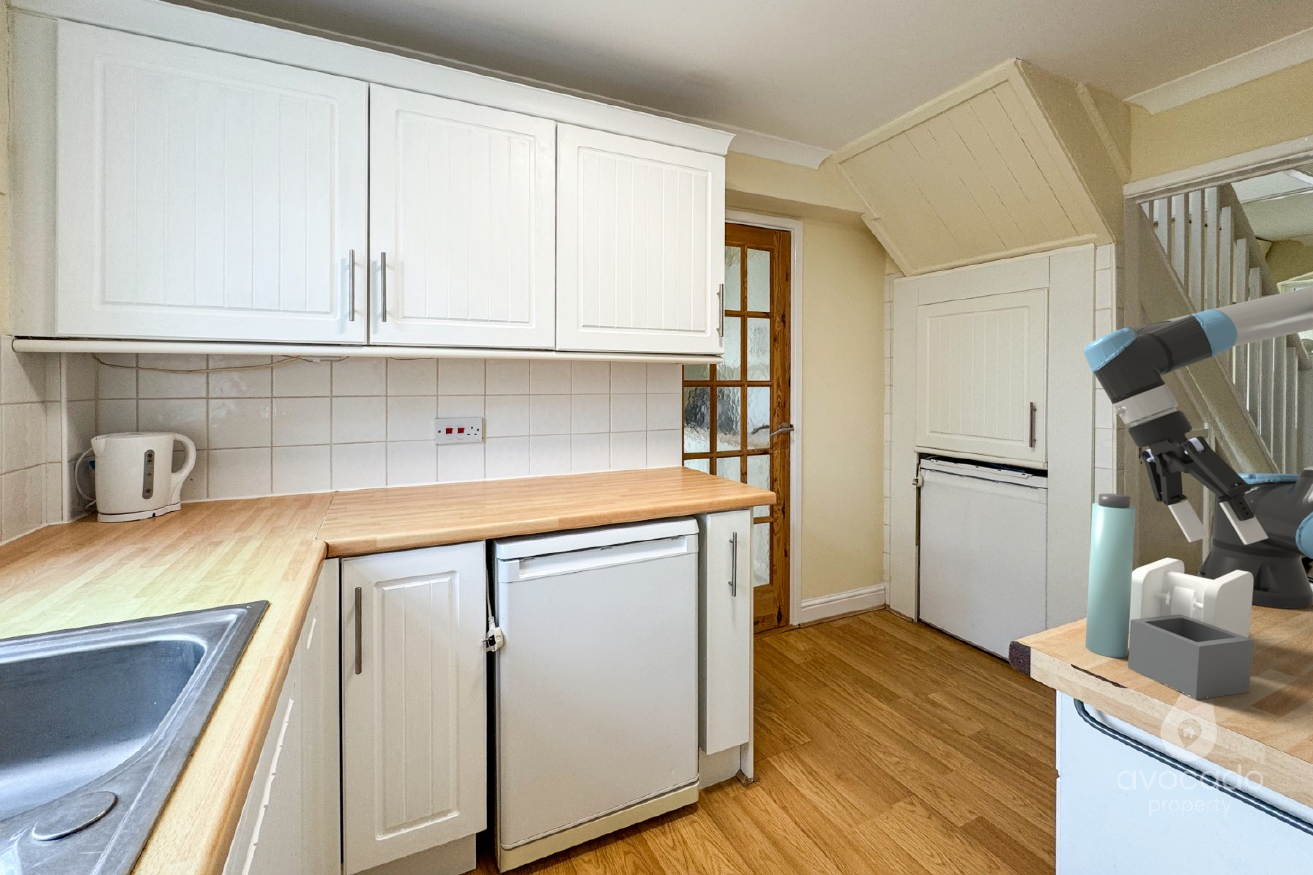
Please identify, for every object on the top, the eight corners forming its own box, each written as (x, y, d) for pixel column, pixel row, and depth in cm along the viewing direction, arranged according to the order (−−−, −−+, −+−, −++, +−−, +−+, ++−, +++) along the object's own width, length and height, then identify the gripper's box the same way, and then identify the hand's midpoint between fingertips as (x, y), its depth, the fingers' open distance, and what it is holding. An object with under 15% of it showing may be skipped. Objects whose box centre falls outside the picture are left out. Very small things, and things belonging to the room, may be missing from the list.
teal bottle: (1104, 641, 89) (1111, 492, 88) (1136, 655, 85) (1145, 498, 83) (1077, 644, 89) (1084, 493, 87) (1108, 659, 84) (1116, 499, 82)
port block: (1177, 661, 83) (1180, 614, 82) (1249, 691, 74) (1253, 639, 74) (1127, 667, 81) (1130, 619, 80) (1195, 699, 73) (1199, 646, 72)
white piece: (1211, 669, 81) (1217, 588, 80) (1121, 640, 90) (1125, 568, 89) (1250, 644, 88) (1256, 570, 87) (1163, 620, 97) (1168, 553, 96)
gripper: (1095, 437, 108) (1156, 545, 103) (1170, 412, 84) (1254, 551, 79) (1138, 422, 106) (1202, 531, 101) (1226, 392, 83) (1316, 532, 78)
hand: (1225, 540), depth 90 cm, fingers open, 13 cm apart
